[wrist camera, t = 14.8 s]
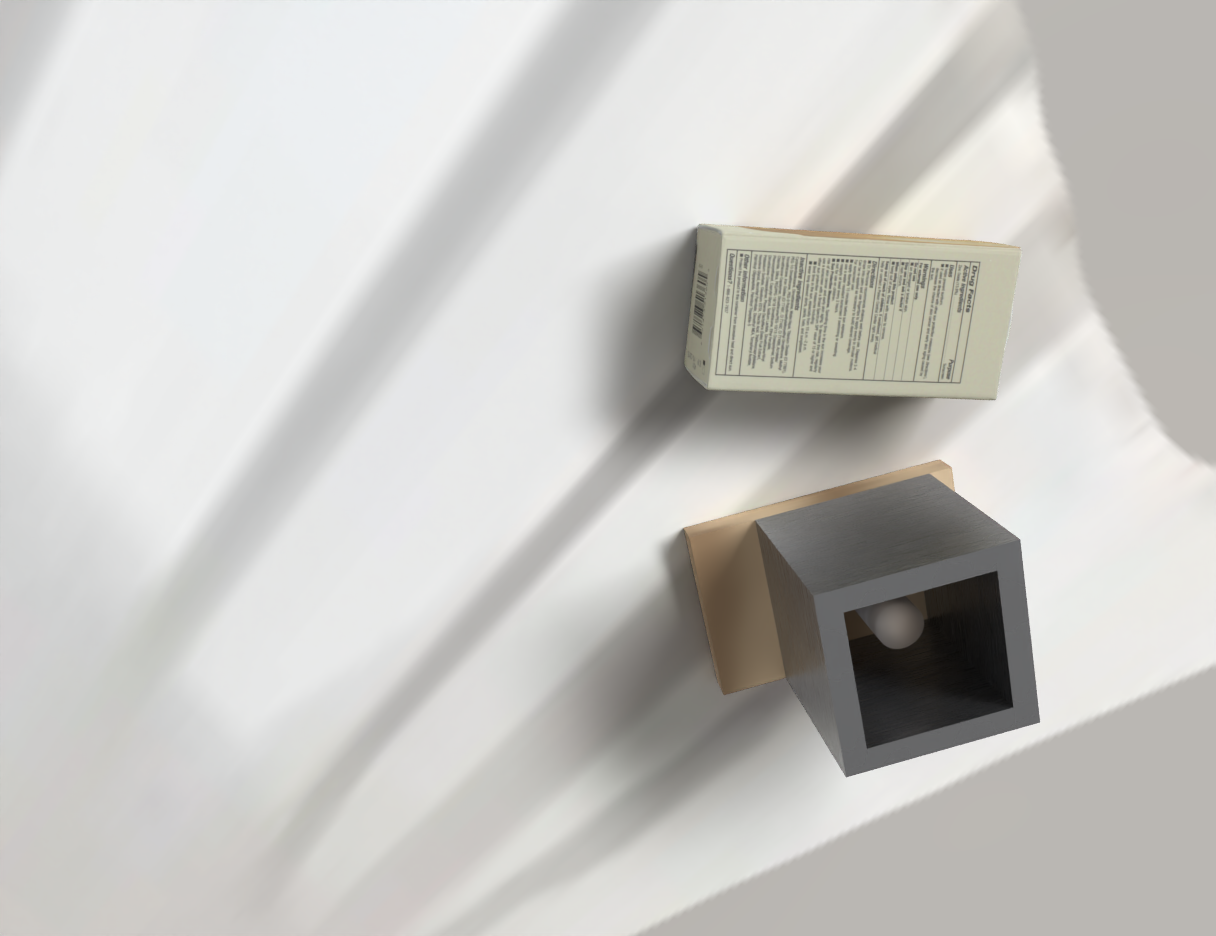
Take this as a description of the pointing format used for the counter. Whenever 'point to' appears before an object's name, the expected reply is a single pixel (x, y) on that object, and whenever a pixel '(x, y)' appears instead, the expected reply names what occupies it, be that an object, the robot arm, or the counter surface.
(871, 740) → the hollow grey cube box
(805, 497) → the block
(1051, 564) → the counter surface
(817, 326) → the skincare box
